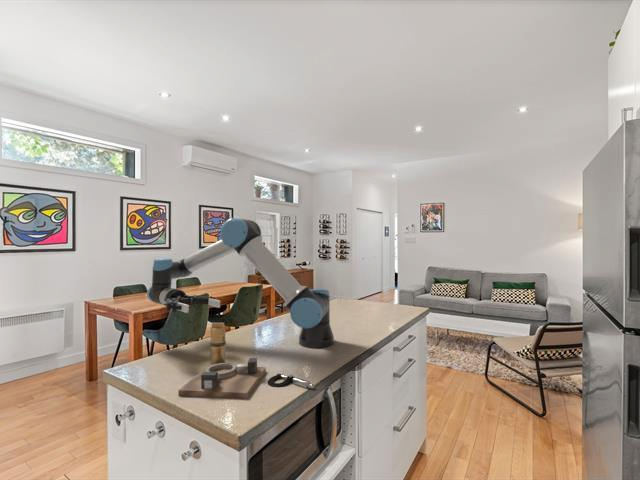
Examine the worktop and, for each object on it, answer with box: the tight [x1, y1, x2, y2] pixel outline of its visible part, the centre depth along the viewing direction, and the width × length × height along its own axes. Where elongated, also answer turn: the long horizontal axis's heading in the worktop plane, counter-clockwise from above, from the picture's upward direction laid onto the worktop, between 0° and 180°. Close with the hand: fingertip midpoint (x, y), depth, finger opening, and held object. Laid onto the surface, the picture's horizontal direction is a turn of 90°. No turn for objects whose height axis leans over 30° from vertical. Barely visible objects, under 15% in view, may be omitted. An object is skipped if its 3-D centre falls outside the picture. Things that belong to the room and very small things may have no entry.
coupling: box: [209, 322, 227, 365], centre depth 117 cm, size 5×5×15 cm
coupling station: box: [177, 357, 267, 399], centre depth 101 cm, size 20×19×5 cm
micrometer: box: [267, 373, 315, 390], centre depth 98 cm, size 15×7×3 cm, turn 52°
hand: (204, 306), depth 123 cm, fingers open, 13 cm apart
